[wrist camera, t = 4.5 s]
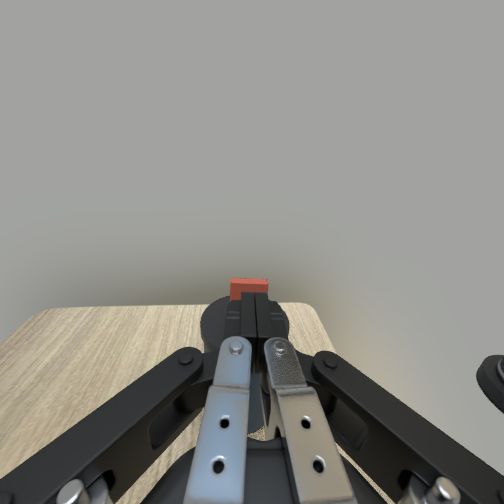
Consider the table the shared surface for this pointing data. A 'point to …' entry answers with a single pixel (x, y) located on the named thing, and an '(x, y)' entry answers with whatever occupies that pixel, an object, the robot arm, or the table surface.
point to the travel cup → (213, 338)
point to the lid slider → (246, 286)
